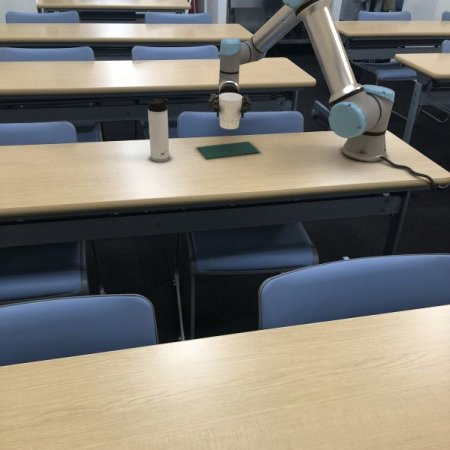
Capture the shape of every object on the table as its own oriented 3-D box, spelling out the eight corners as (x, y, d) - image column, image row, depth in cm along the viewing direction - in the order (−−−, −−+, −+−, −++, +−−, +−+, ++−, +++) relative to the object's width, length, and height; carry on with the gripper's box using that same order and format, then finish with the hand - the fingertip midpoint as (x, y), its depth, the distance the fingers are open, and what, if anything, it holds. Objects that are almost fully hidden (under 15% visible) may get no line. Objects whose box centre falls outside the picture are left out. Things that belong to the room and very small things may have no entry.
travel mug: (167, 163, 164) (165, 102, 152) (148, 161, 165) (144, 100, 152) (172, 155, 169) (170, 96, 157) (153, 154, 170) (150, 94, 157)
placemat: (259, 153, 174) (259, 151, 174) (206, 159, 168) (206, 158, 168) (248, 142, 181) (248, 141, 181) (197, 148, 175) (197, 147, 175)
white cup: (238, 131, 166) (240, 101, 159) (215, 128, 167) (216, 98, 160) (242, 123, 172) (244, 94, 165) (220, 121, 173) (221, 91, 166)
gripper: (255, 103, 182) (260, 125, 164) (201, 101, 181) (199, 123, 164) (257, 82, 177) (261, 103, 159) (201, 80, 176) (199, 100, 159)
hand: (230, 113), depth 161 cm, fingers closed on white cup, 8 cm apart
